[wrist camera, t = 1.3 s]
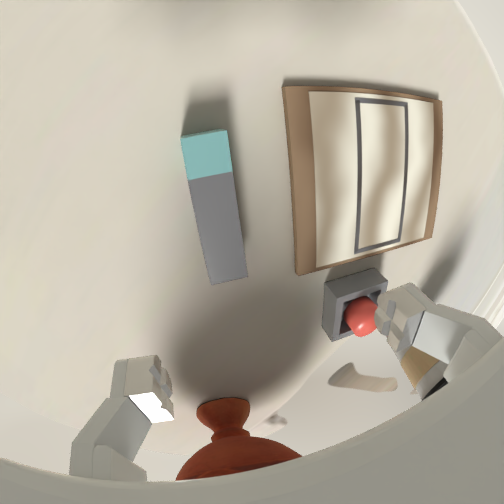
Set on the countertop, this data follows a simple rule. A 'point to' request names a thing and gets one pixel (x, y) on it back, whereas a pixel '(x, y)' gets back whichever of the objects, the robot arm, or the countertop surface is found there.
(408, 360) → the coffee cup
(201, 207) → the block
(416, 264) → the countertop surface
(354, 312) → the button
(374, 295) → the button housing
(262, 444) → the goblet
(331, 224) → the drawing board
